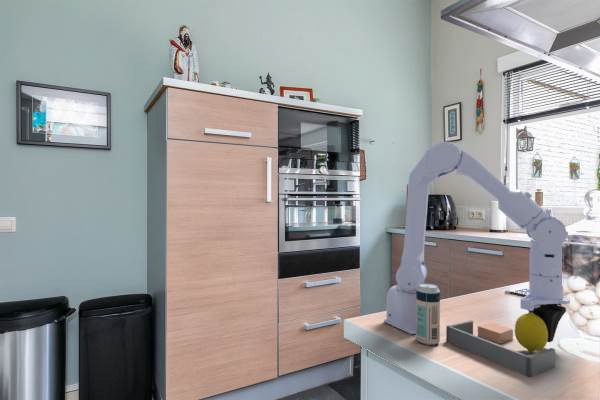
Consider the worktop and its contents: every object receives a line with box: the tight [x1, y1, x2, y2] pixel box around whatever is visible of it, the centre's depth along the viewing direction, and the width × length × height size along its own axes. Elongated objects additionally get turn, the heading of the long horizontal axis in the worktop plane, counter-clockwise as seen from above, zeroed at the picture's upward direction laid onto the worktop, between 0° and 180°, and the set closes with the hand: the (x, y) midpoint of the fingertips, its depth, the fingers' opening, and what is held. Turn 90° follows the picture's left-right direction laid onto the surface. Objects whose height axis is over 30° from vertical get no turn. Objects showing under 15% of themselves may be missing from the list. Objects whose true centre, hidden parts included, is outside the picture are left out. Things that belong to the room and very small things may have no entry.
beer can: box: [415, 283, 441, 346], centre depth 73 cm, size 5×5×12 cm
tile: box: [477, 321, 514, 345], centre depth 76 cm, size 5×5×2 cm
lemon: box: [514, 311, 548, 354], centre depth 69 cm, size 6×6×8 cm
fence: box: [445, 320, 556, 378], centre depth 68 cm, size 17×8×3 cm, turn 28°
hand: (545, 340), depth 71 cm, fingers closed
